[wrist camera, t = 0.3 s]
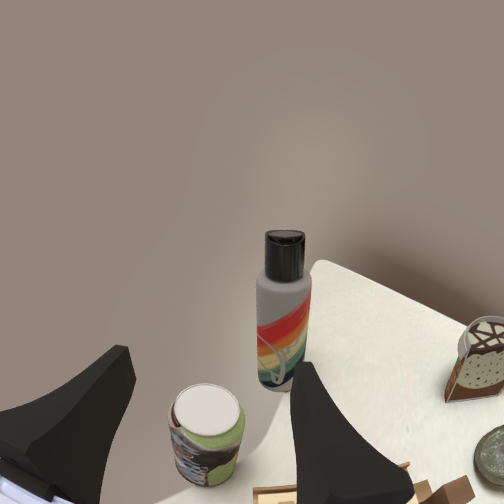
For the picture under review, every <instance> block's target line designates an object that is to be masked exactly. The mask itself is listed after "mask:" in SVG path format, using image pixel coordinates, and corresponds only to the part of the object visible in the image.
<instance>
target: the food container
mask: <svg viewBox="0 0 504 504" xmlns="http://www.w3.org/2000/svg"><path fill="white" fill-rule="evenodd" d="M458 355H459V356H458V358H457V361H456V364H455V366H454V369H453V372H452V374H451V377H450V379H449V381H448V384H447V386H446V389H445V402H446V403H451V402H460V401H468V400H475V399H482V398H488V397H494V396H499V394H500V393H501V392H502V390H503V389H504V318H502V317H497V316H484V317H480V318H478V319H476V320H475V321H473V322H472V323H471V324H470V325H469V326H468V327H467V328H466V330H465V331H464V333H463V334H462V335H461V337H460V339H459V342H458Z"/></svg>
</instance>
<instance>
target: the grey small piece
mask: <svg viewBox="0 0 504 504" xmlns="http://www.w3.org/2000/svg"><path fill="white" fill-rule="evenodd" d="M475 462H476V465H477V468H478V470H479V472H480V473H481V475H482V476H483V477H484V478H486V479H487V480H488V481H490V482H491V483H493V484H496V485H501V486H504V425H502V426H500V427H497V428H495V429H493V430H492V431H491V432H489V433H487V434H486V435H485V436H483V437H482V439H481V440H480V442H479V443H478V445H477V447H476V451H475Z"/></svg>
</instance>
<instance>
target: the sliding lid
mask: <svg viewBox="0 0 504 504" xmlns="http://www.w3.org/2000/svg"><path fill="white" fill-rule="evenodd" d="M405 471H407V472H408V470H407V469H406V470H405ZM408 474H409V473H408ZM296 502H297V492H290V493H278V494H263V495H258V504H296ZM407 504H419V503H418V500H417V497H416V494H415V495H414V496H413V498H412V499H411V500H410V501H409V502H408V503H407Z"/></svg>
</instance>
